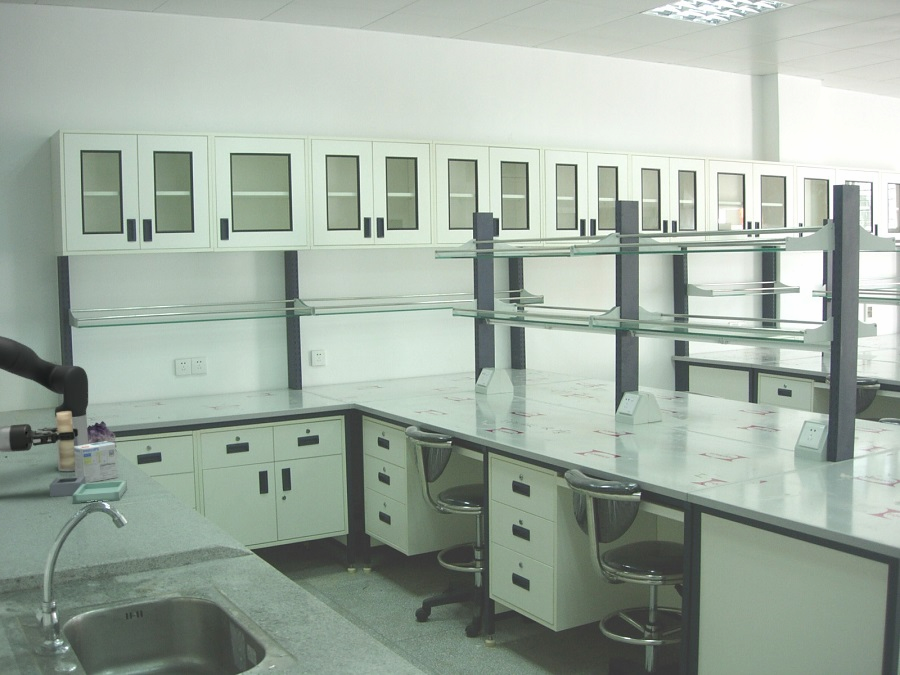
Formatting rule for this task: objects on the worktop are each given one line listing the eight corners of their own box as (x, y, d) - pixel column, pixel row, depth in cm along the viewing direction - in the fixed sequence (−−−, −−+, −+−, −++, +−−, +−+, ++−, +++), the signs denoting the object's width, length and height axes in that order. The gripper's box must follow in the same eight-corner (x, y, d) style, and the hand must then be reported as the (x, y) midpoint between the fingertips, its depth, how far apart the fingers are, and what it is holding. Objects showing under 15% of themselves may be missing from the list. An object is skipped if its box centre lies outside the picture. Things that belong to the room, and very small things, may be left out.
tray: (83, 491, 260) (82, 483, 260) (126, 488, 262) (126, 480, 262) (72, 503, 246) (72, 495, 246) (119, 500, 249) (118, 492, 248)
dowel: (62, 466, 260) (58, 411, 259) (76, 465, 261) (72, 410, 260) (59, 469, 257) (54, 414, 255) (73, 468, 257) (69, 413, 256)
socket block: (56, 490, 262) (56, 478, 262) (85, 487, 264) (85, 476, 264) (50, 496, 254) (49, 484, 254) (80, 494, 256) (79, 482, 256)
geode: (75, 446, 329) (78, 419, 329) (109, 447, 334) (111, 420, 334) (81, 454, 311) (83, 425, 311) (116, 454, 316) (119, 426, 316)
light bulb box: (108, 474, 281) (106, 440, 280) (118, 477, 276) (116, 442, 275) (74, 481, 273) (72, 445, 273) (83, 484, 269) (81, 448, 268)
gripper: (3, 430, 248) (69, 425, 251) (17, 420, 262) (80, 416, 265) (5, 456, 249) (71, 452, 252) (19, 446, 263) (82, 441, 266)
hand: (75, 434), depth 259 cm, fingers closed on dowel, 4 cm apart
